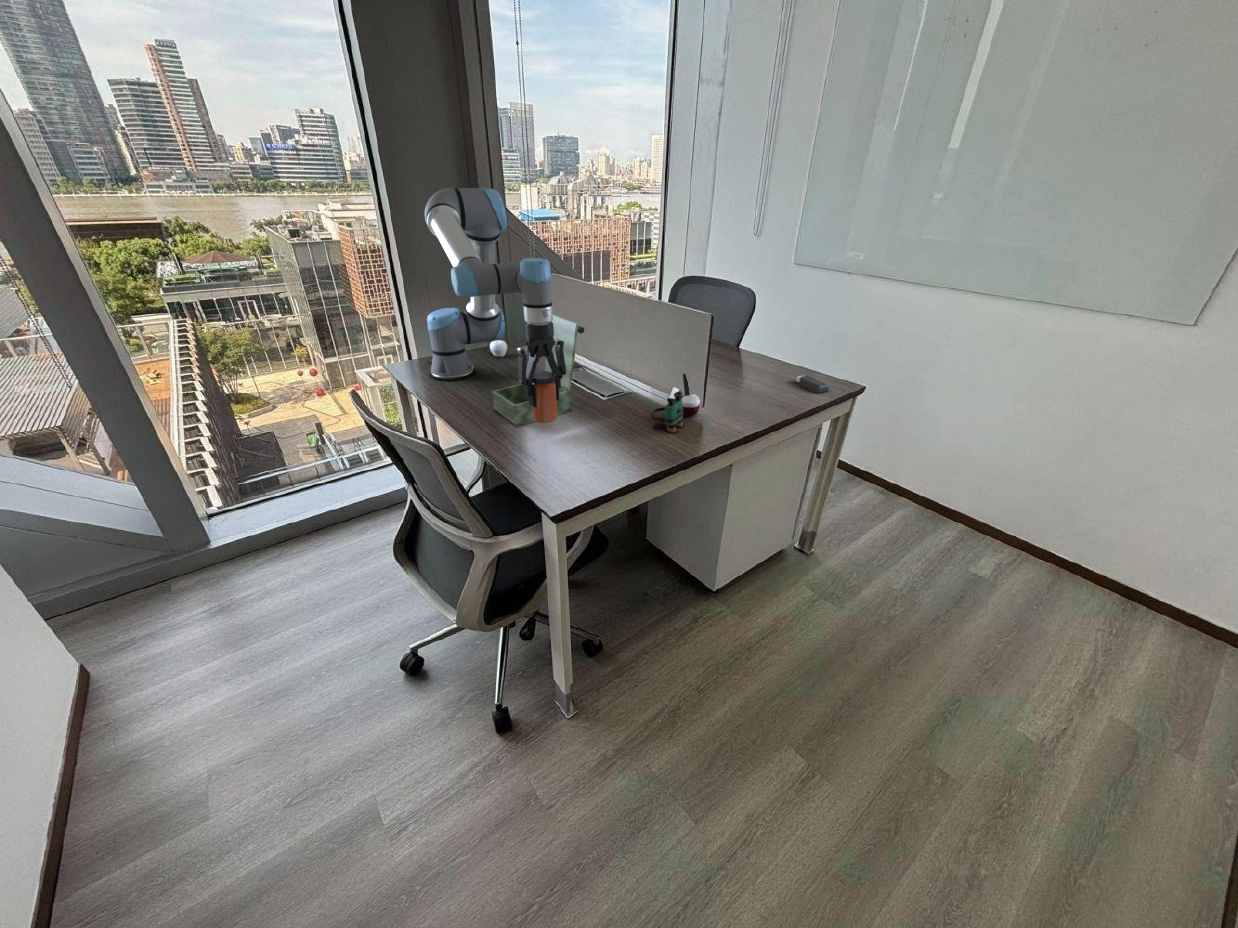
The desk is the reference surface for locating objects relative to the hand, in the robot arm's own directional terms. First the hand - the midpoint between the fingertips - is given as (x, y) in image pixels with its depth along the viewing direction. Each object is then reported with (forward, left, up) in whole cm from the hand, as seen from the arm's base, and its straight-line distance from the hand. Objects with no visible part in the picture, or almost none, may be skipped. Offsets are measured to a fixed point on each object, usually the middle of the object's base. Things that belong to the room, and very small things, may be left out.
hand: (544, 402), depth 141 cm
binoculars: (+19, +31, -9) cm, 38 cm away
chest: (-15, +4, -9) cm, 18 cm away
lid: (-15, +15, +8) cm, 23 cm away
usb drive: (+27, +97, -9) cm, 101 cm away
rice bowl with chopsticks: (+17, +43, -9) cm, 47 cm away
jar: (0, 0, -5) cm, 5 cm away
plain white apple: (-72, +21, -9) cm, 76 cm away
